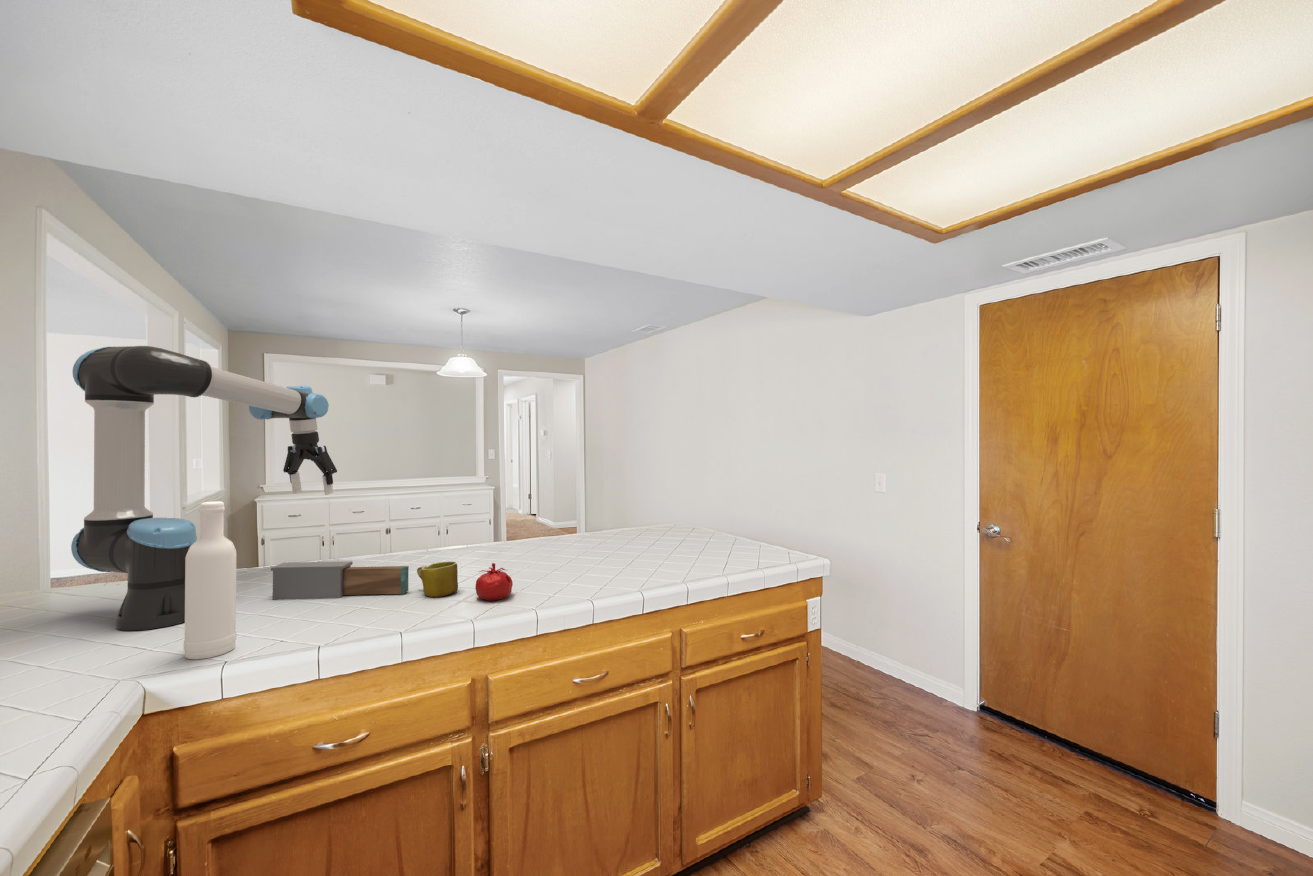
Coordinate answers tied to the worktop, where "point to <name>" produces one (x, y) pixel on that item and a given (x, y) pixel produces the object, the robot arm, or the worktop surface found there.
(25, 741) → the worktop surface
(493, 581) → the pomegranate
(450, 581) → the mug
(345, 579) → the gate
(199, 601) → the bottle
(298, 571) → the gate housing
